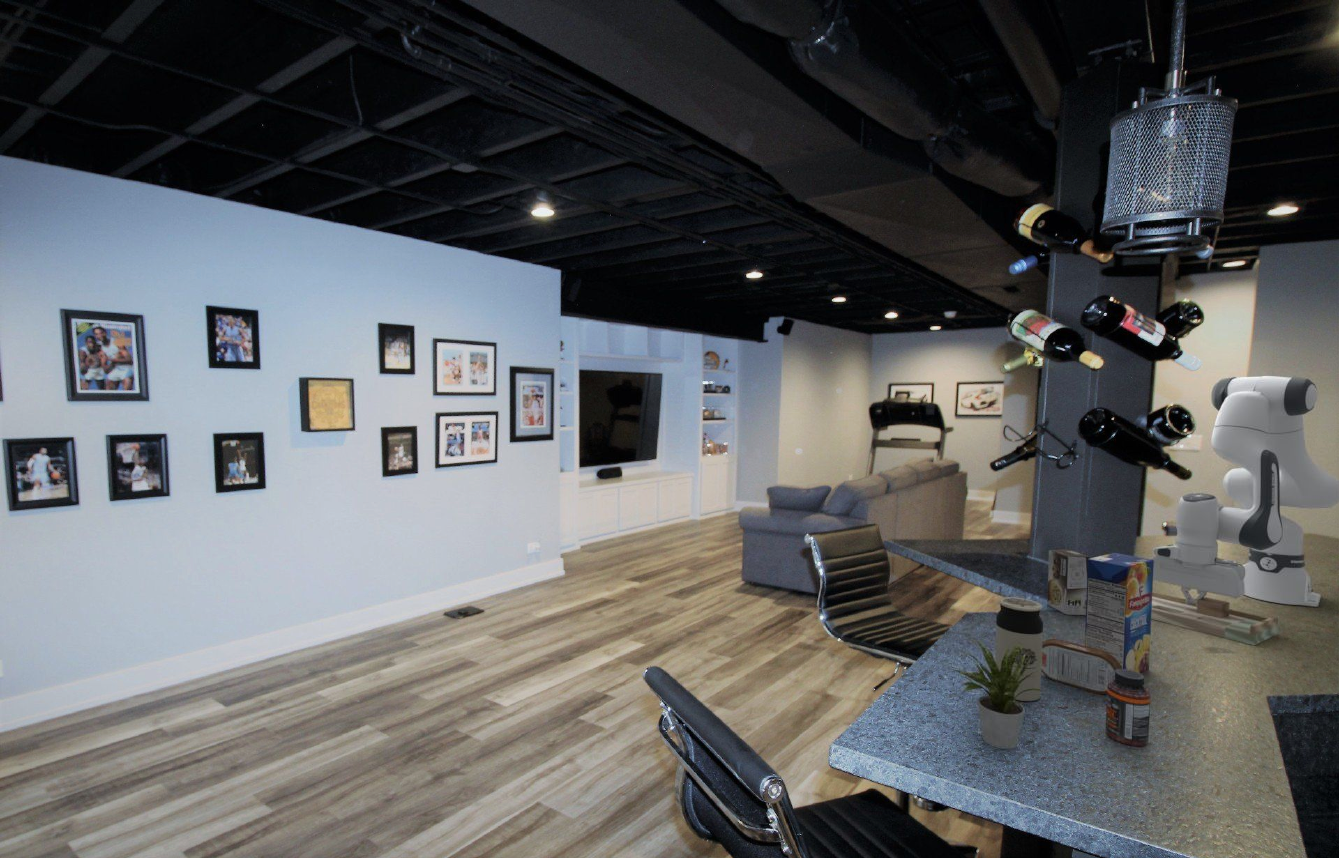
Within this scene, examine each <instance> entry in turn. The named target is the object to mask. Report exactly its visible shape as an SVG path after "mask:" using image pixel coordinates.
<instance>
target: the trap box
mask: <svg viewBox="0 0 1339 858" xmlns="http://www.w3.org/2000/svg"><path fill="white" fill-rule="evenodd" d="M1151 620H1155V621H1158V622H1163V623H1166V624H1169V625H1174V626H1178V627H1181V628H1186V629H1189V630H1193V631H1197V632H1201V633H1205V634H1209V635H1212V636H1216V637H1220V638H1224V639H1228V640H1232V641H1236V642H1240V643H1243V644H1247V645H1251V646H1255V645H1258V644H1259V643H1262V642H1264V641H1266V640H1268V639H1271V638H1272V637H1274V636H1277V635H1278V628H1279V623H1278V622H1279V616H1277V615H1276V616H1275V615H1273V616H1271V617H1266V616H1261V615H1258V614H1252V613H1249V612H1244V611H1240V610H1236V609H1231V608H1229V616H1226V617H1223V618H1217V617H1213V616H1208V615H1204V614H1200V613H1197V606H1193V605H1189V604H1186V598H1182V597H1178V596H1173V595H1169V594H1166V593H1161V592H1156V591H1152V612H1151Z"/></svg>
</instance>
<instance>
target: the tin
mask: <svg viewBox="0 0 1339 858" xmlns="http://www.w3.org/2000/svg"><path fill="white" fill-rule="evenodd" d="M1117 669H1122V666H1121V665H1120V663H1119V662H1118V660H1117V659H1116V658H1114V657H1113V656H1112V655H1111V654H1109V653H1107V652H1105V651H1103V650H1100V649H1096V648H1092V647H1088V646H1085V644H1084V645H1083V644H1078V643H1075V642H1071V641H1068V640H1064V639H1060V638H1049V639H1046V640H1044V641H1042V666H1041V674H1042V675H1044V676H1045V677H1047V678H1048V679H1050V680H1052V681H1054V682H1057V683H1061V684H1064V685H1068V686H1071V687H1074V688H1078V689H1081V690H1084V691H1087V692H1088V691H1089V692H1092V693H1094V694H1099V695H1107V686H1108V683H1109V682H1110V681H1112V680H1114V679H1115V678H1114V676H1115V670H1117Z"/></svg>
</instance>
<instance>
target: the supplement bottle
mask: <svg viewBox="0 0 1339 858" xmlns="http://www.w3.org/2000/svg"><path fill="white" fill-rule="evenodd" d="M1114 678H1115V679H1114V680H1112V681H1110V682H1109V683H1108V686H1107V694H1106V710H1105V732H1106V734H1107V735H1108V736H1109V737H1110V738H1111V739H1113V740H1115V741H1117V742H1119V743H1122V744H1124V745H1128V746H1133V747H1143V746H1146V745H1147V744H1149V743H1148V742H1149V735H1150V715H1151V714H1150V712H1151V693H1150V691H1149V689H1148V688H1146V686H1144V685H1145V676H1144V675H1143V673H1142V674H1140V673H1138V672H1135V671H1132V670H1128V669H1117V670H1115V676H1114Z"/></svg>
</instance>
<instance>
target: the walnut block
mask: <svg viewBox="0 0 1339 858" xmlns="http://www.w3.org/2000/svg"><path fill="white" fill-rule="evenodd" d="M1229 609H1230V601H1226V600H1221V599H1216V598H1212V597H1207V596H1205V597H1204V598H1201V599H1198V600H1197V613H1200V614H1204V615H1208V616H1213V617H1217V618H1223V617H1226V616H1229Z"/></svg>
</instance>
